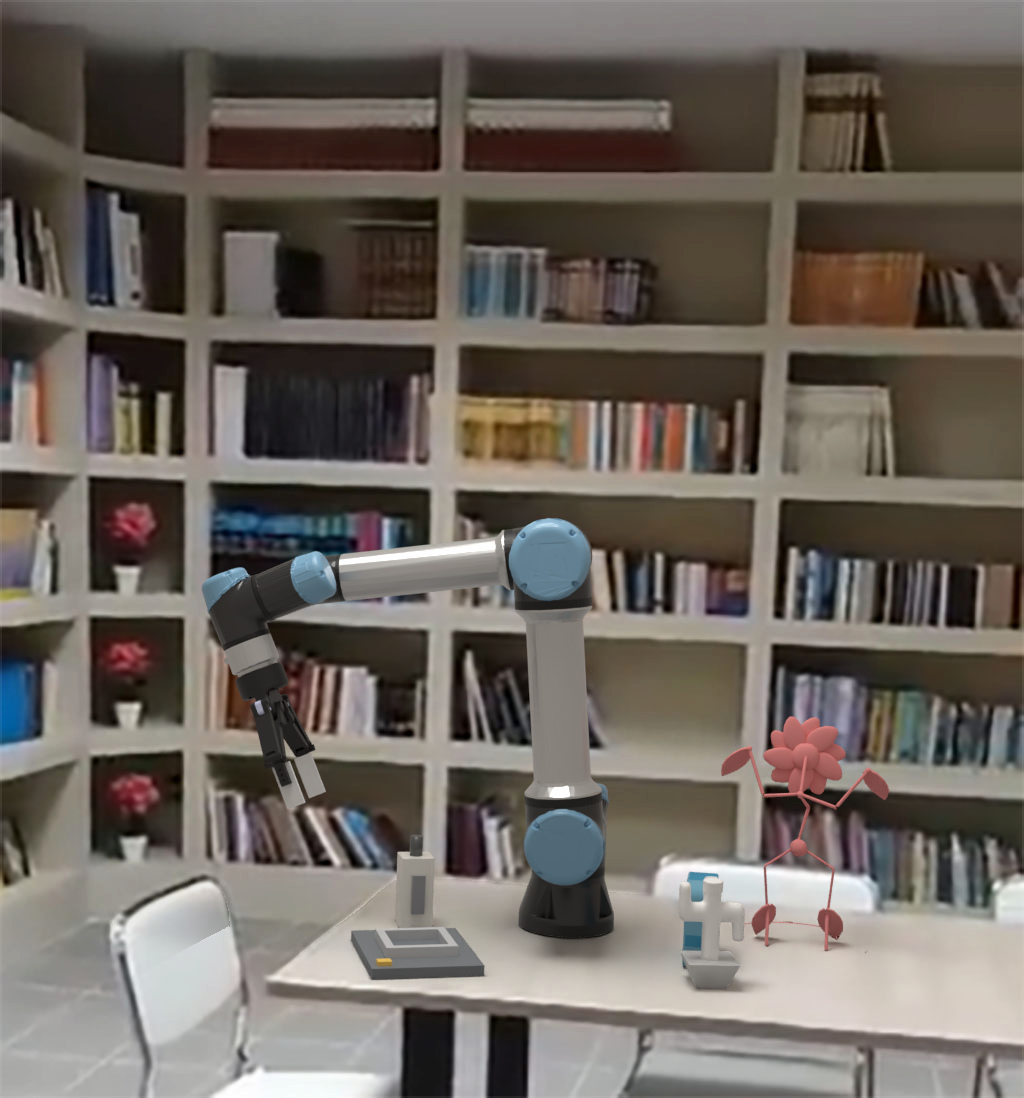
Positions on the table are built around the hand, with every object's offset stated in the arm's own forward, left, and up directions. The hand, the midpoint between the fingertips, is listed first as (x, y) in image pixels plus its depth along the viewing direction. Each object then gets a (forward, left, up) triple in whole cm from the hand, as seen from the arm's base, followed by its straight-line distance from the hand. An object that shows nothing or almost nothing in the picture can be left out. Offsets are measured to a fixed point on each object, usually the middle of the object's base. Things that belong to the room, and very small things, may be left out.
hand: (307, 800), depth 249 cm
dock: (-15, +13, -21) cm, 29 cm away
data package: (-57, +18, -21) cm, 63 cm away
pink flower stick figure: (-77, +8, -21) cm, 80 cm away
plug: (-18, -5, -21) cm, 28 cm away
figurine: (-54, +30, -21) cm, 65 cm away
